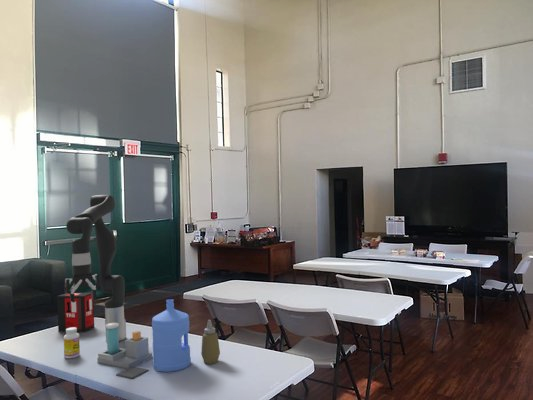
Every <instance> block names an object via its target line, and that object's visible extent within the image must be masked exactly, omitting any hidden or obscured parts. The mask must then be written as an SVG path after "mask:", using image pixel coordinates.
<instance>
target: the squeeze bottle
mask: <svg viewBox="0 0 533 400" xmlns="http://www.w3.org/2000/svg"><path fill="white" fill-rule="evenodd" d="M220 350H221V349H220V343H219V336H218V332H216V328H215V327H214V326H213V323H212V320H211V319H208V320H207V324H206V327H205V328H204V333H203V334H202V339H201V352H200V353H201V357H202V360H203V363H205V364H208V365H211V364H215V363H218V361H219V358H220V354H221V351H220Z"/></svg>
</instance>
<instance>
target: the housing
mask: <svg viewBox="0 0 533 400" xmlns="http://www.w3.org/2000/svg"><path fill="white" fill-rule="evenodd" d="M124 340H125V339H124ZM124 345H125V348H124V347H119V353H116V354H114V355H110V354H108V352H107V349H106V350H104V351H101V352H99V353H98V354H97V355H98V356H97V358H96V359H97V360H96V361H97V363H98V364H104V365H109V366H114V367H118V368H123V369H128V368H130V367H132V366H134V367H137V366H138V365H140V364H142V363H144V362H146V361H148V360H151V359H152V358H153V353H152V352H149V351H150V350H149V337H145V336H141V340H139V341H133V337H131V338H128V339H126V340H125V341H124Z"/></svg>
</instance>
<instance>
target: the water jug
mask: <svg viewBox="0 0 533 400" xmlns="http://www.w3.org/2000/svg"><path fill="white" fill-rule="evenodd" d="M165 301H166V305H165V306H166V309H165V310H163V311H162V312H160V313H158V314H156V315H154V316H153V317H152V319H151V320H152V321H151V328H152V331H151V332H152V350H153V351H152V352H153V353H152V358H153V359H152V365H153V368H154V369H155V370H156V371H158V372H162V373H171V372H172V373H173V372H178V371H181V370H184V369H186V368H187V367H189V366H190V364H191V362H192V360H191V359H192V357H191V347H190V345H189V334H188V333H189V332H190V316H189V314H188V313H186V312H183V311H181V310H178V309H175V303H174V301H175V299H172V298H171V299H166V300H165ZM182 337H183V339H182ZM182 341H183V343H182Z"/></svg>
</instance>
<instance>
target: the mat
mask: <svg viewBox="0 0 533 400" xmlns="http://www.w3.org/2000/svg"><path fill="white" fill-rule="evenodd" d="M147 372H149V369H147V368H144V367H143V368H142V367H139V366H132V367H130V368H125V369H124V370H122V371H120V372H117V373H115V376H117V377H122V378H126V379H129V380H134V379H135V378H137V377H139V376H141V375H143V374H146V373H147Z"/></svg>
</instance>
